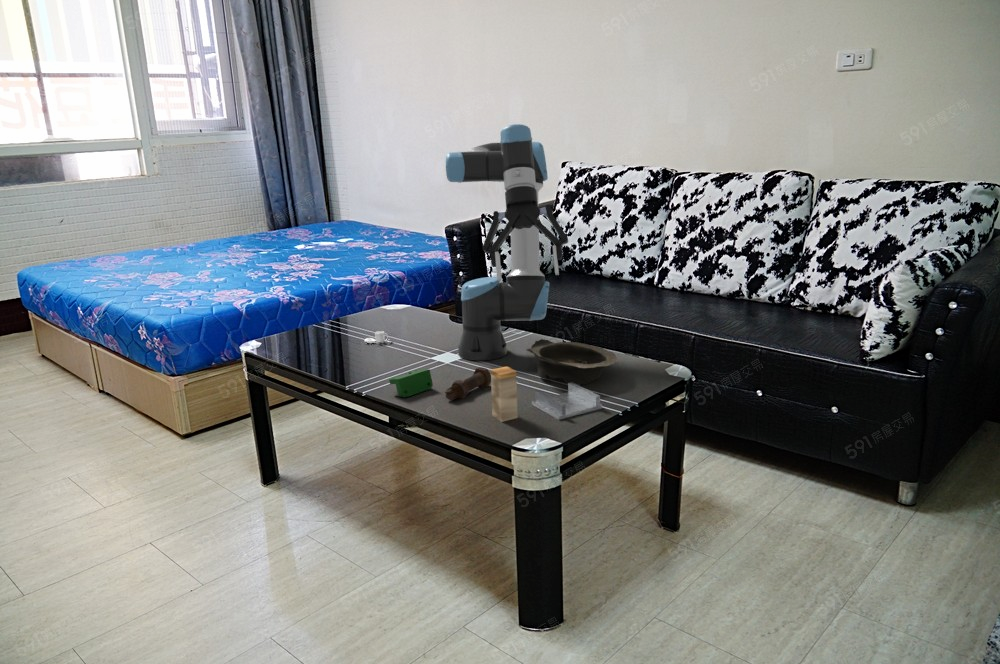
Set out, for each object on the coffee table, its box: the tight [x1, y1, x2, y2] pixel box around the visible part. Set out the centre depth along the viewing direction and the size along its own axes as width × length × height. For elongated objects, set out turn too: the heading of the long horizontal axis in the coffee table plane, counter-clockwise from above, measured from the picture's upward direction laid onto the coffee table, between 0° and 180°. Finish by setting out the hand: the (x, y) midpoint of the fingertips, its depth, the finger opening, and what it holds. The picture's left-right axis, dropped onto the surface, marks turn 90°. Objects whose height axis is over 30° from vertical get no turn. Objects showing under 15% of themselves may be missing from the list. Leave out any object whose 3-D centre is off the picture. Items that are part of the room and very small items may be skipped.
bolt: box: [444, 366, 491, 401], centre depth 199 cm, size 6×5×15 cm
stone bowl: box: [526, 338, 618, 386], centre depth 209 cm, size 25×25×9 cm
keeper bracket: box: [531, 382, 603, 421], centre depth 188 cm, size 12×13×4 cm
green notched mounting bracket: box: [388, 369, 434, 398], centre depth 202 cm, size 11×6×8 cm, turn 128°
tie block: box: [490, 366, 519, 423], centre depth 182 cm, size 4×4×12 cm
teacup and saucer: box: [364, 330, 389, 344], centre depth 247 cm, size 9×8×4 cm
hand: (528, 277), depth 176 cm, fingers open, 13 cm apart
